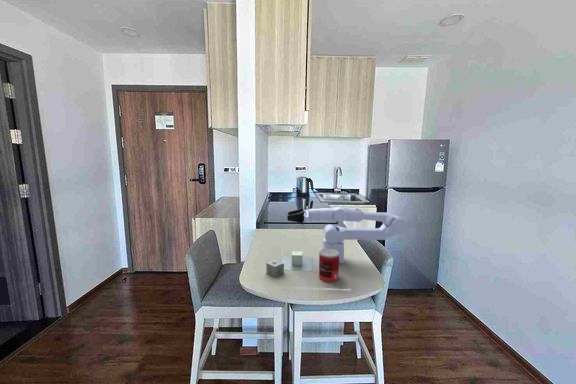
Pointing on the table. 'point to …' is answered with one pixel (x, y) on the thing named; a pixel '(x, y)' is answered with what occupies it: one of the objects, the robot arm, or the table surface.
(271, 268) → the dice cube
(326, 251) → the canned food
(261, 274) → the table surface
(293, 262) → the sage brick
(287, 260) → the plate
